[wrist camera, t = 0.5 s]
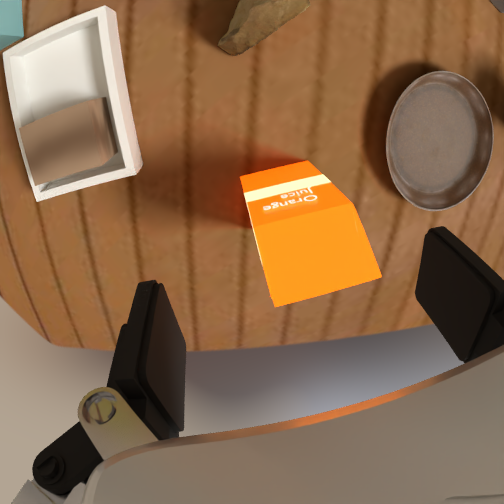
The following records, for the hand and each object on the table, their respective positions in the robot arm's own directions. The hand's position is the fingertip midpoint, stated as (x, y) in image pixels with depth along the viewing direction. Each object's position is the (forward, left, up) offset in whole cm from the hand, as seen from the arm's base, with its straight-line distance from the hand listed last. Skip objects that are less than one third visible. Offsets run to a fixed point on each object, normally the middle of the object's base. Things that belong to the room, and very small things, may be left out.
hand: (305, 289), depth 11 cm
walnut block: (-4, -19, -29) cm, 35 cm away
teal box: (-23, -28, -30) cm, 47 cm away
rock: (-14, +3, -30) cm, 33 cm away
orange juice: (+9, +4, -30) cm, 31 cm away
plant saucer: (+3, +28, -30) cm, 41 cm away
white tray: (-8, -19, -29) cm, 36 cm away
